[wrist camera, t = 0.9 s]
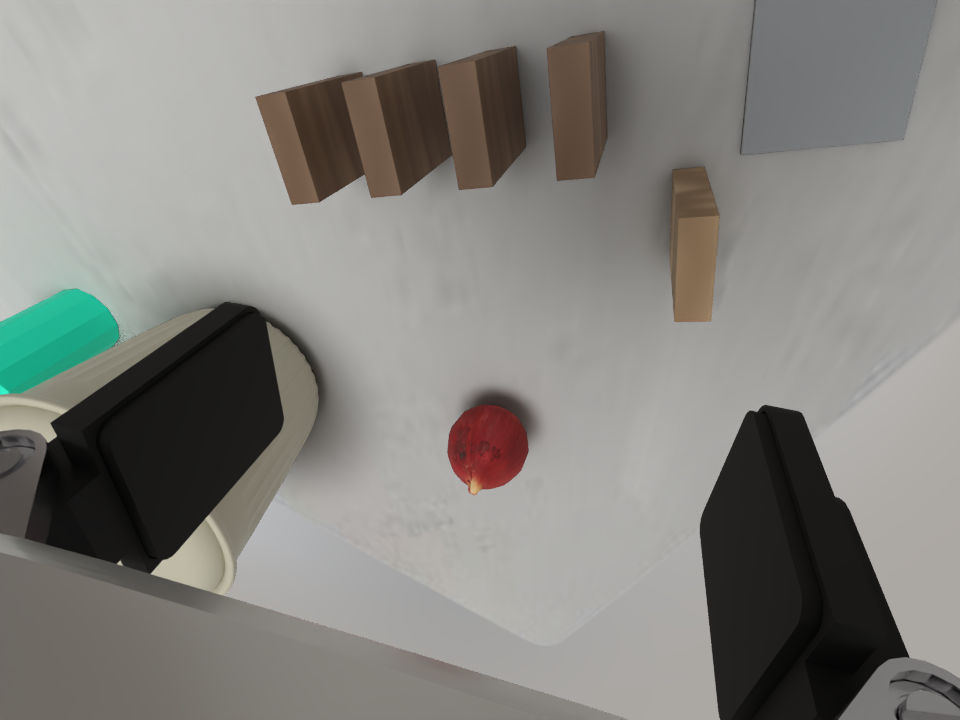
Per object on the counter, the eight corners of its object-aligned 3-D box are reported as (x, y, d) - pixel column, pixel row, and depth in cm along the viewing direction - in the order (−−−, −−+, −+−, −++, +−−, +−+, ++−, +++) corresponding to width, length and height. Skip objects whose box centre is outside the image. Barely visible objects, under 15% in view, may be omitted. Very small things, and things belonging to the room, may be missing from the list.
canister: (212, 439, 53) (9, 643, 37) (126, 271, 44) (-203, 442, 27) (376, 454, 48) (228, 700, 31) (319, 268, 39) (63, 478, 22)
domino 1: (361, 71, 30) (284, 92, 24) (383, 162, 33) (319, 202, 27) (337, 76, 31) (255, 96, 25) (360, 165, 34) (292, 204, 27)
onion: (449, 397, 42) (413, 469, 36) (510, 373, 39) (483, 446, 33) (489, 450, 44) (461, 526, 38) (549, 430, 41) (530, 510, 35)
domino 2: (434, 59, 29) (374, 77, 23) (451, 155, 32) (401, 194, 25) (408, 64, 30) (341, 82, 23) (426, 157, 32) (371, 197, 26)
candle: (114, 358, 50) (-12, 443, 41) (56, 320, 50) (-87, 398, 40) (124, 316, 47) (-12, 398, 37) (61, 275, 46) (-94, 348, 36)
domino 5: (704, 166, 29) (719, 215, 22) (699, 254, 31) (711, 321, 25) (672, 169, 29) (678, 218, 23) (669, 256, 32) (674, 321, 25)
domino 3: (515, 46, 28) (474, 60, 21) (526, 146, 30) (492, 186, 24) (486, 51, 28) (437, 66, 22) (498, 149, 31) (458, 189, 24)
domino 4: (604, 30, 26) (589, 41, 20) (607, 137, 29) (594, 177, 23) (571, 36, 27) (546, 48, 21) (577, 141, 30) (557, 180, 23)
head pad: (951, -72, 22) (954, -72, 21) (900, 138, 26) (903, 140, 25) (758, -35, 24) (759, -35, 23) (740, 153, 28) (741, 155, 28)
